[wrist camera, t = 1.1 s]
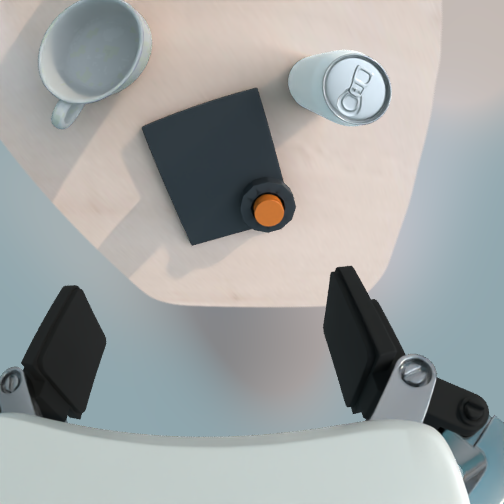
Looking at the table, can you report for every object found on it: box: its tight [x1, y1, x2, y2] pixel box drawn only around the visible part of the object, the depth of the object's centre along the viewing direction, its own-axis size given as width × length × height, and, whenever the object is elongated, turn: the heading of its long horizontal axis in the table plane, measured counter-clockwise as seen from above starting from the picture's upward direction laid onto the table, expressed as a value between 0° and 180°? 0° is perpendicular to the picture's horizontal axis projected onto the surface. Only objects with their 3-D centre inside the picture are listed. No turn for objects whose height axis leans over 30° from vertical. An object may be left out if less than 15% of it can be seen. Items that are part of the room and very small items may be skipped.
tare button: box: [254, 194, 284, 226], centre depth 33 cm, size 3×3×2 cm
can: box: [288, 50, 392, 126], centre depth 23 cm, size 6×6×12 cm
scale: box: [142, 88, 296, 246], centre depth 32 cm, size 16×14×3 cm
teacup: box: [38, 0, 152, 129], centre depth 21 cm, size 14×11×8 cm
